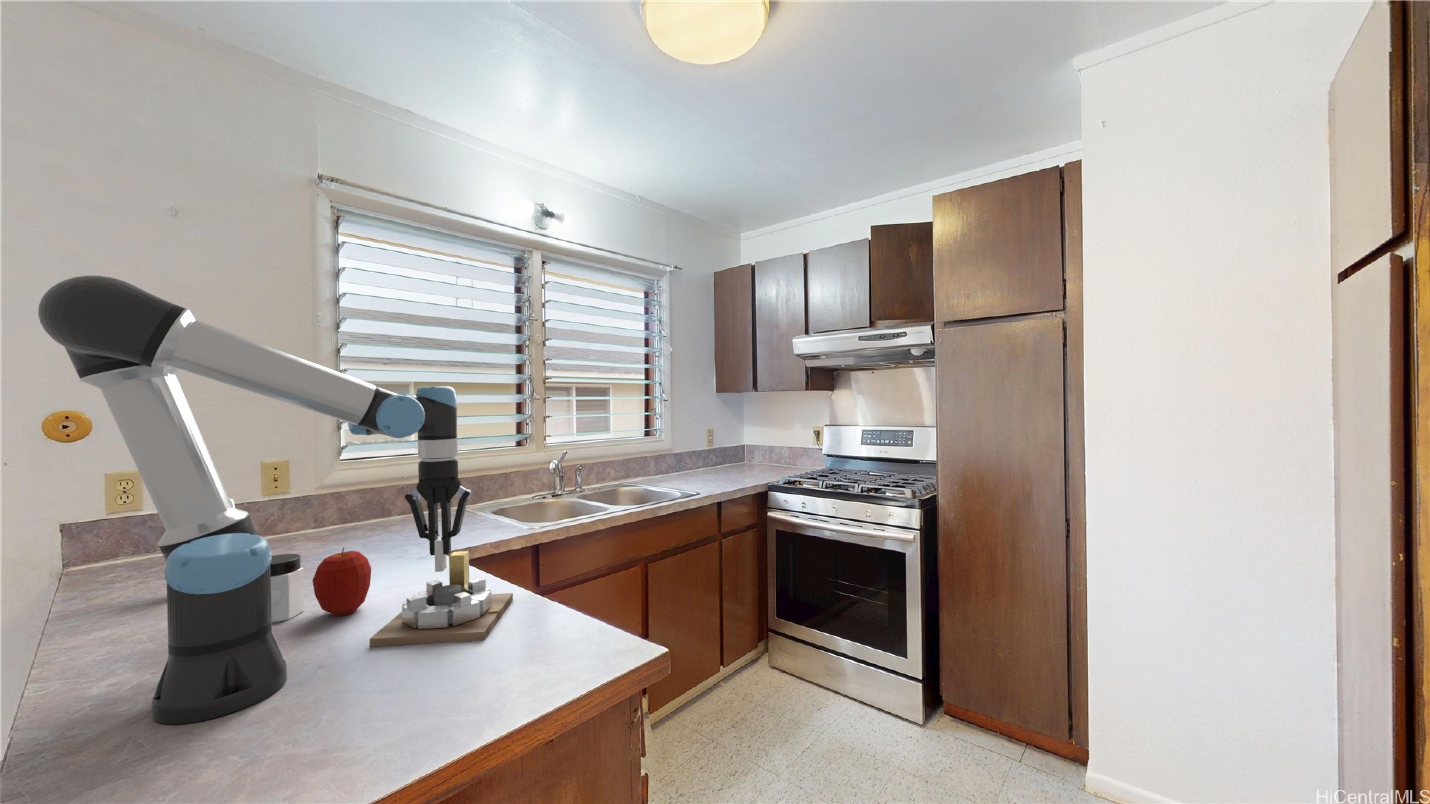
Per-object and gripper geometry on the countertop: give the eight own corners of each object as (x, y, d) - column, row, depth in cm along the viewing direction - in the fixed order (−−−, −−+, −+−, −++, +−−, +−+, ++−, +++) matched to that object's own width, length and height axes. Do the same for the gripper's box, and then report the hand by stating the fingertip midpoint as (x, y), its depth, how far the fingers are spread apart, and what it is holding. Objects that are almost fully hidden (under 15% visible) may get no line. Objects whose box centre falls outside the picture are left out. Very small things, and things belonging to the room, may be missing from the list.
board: (484, 639, 100) (484, 604, 100) (369, 647, 98) (368, 611, 98) (512, 599, 120) (512, 570, 120) (417, 605, 118) (417, 575, 117)
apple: (359, 600, 121) (358, 538, 121) (381, 609, 116) (380, 544, 115) (304, 616, 112) (303, 549, 112) (326, 626, 107) (324, 556, 107)
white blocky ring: (475, 625, 102) (474, 572, 102) (390, 630, 100) (388, 577, 100) (498, 595, 117) (498, 549, 117) (425, 599, 116) (424, 553, 116)
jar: (245, 628, 107) (244, 568, 106) (252, 615, 113) (251, 558, 113) (302, 617, 112) (301, 560, 111) (305, 605, 118) (304, 551, 118)
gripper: (475, 456, 119) (477, 562, 120) (411, 458, 117) (413, 566, 117) (466, 459, 112) (469, 572, 112) (397, 462, 110) (400, 578, 110)
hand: (440, 569), depth 115 cm, fingers closed
